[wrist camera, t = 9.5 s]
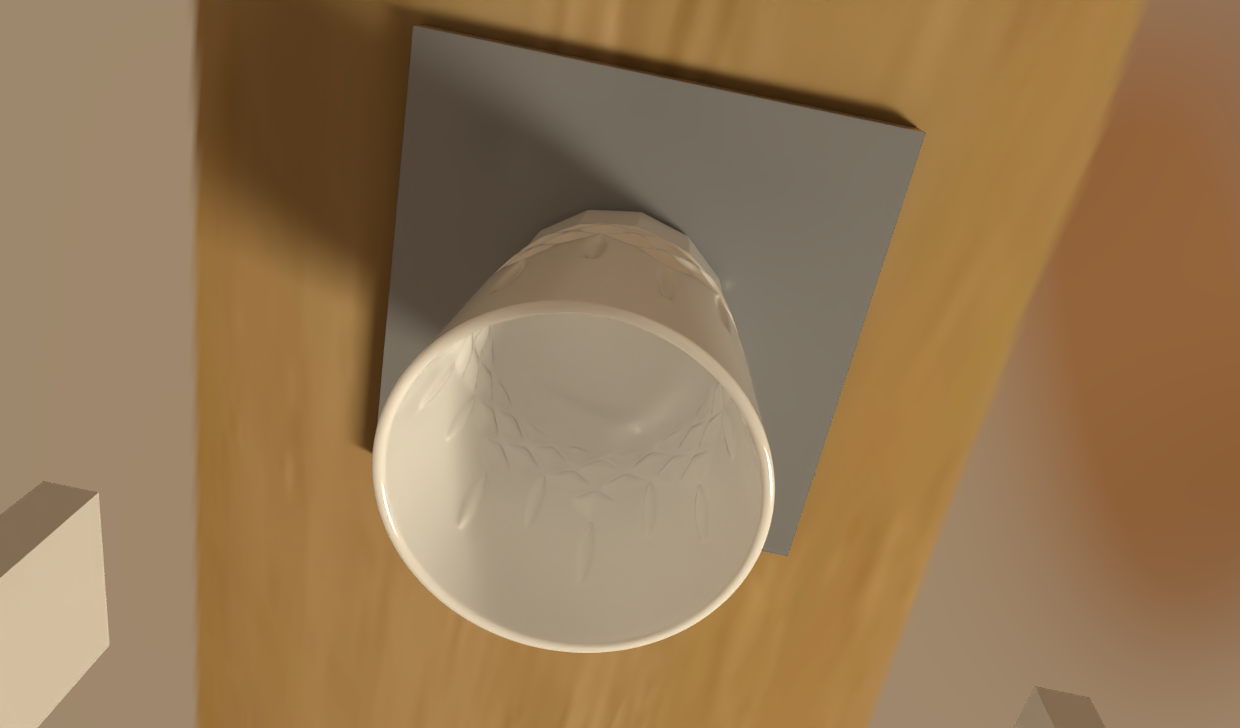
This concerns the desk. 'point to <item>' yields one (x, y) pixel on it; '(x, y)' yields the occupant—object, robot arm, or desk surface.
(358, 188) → the desk surface
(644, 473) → the white cup
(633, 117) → the coaster
